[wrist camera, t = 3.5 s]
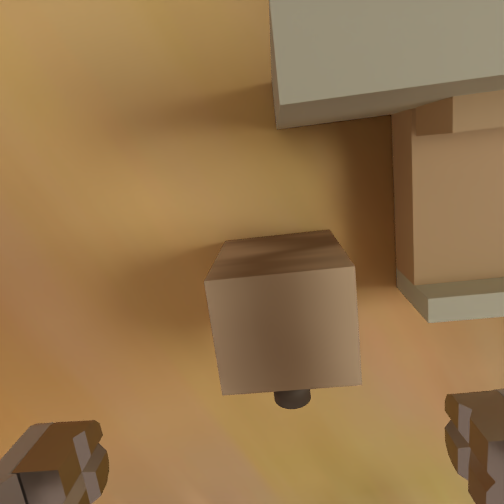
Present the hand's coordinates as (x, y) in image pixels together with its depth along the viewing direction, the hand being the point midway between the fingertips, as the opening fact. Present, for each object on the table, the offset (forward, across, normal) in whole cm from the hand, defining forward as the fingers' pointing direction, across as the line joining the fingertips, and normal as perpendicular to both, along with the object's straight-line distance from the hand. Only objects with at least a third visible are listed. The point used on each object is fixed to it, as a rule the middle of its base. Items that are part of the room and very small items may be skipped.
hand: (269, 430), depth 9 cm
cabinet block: (+10, -1, 0) cm, 11 cm away
